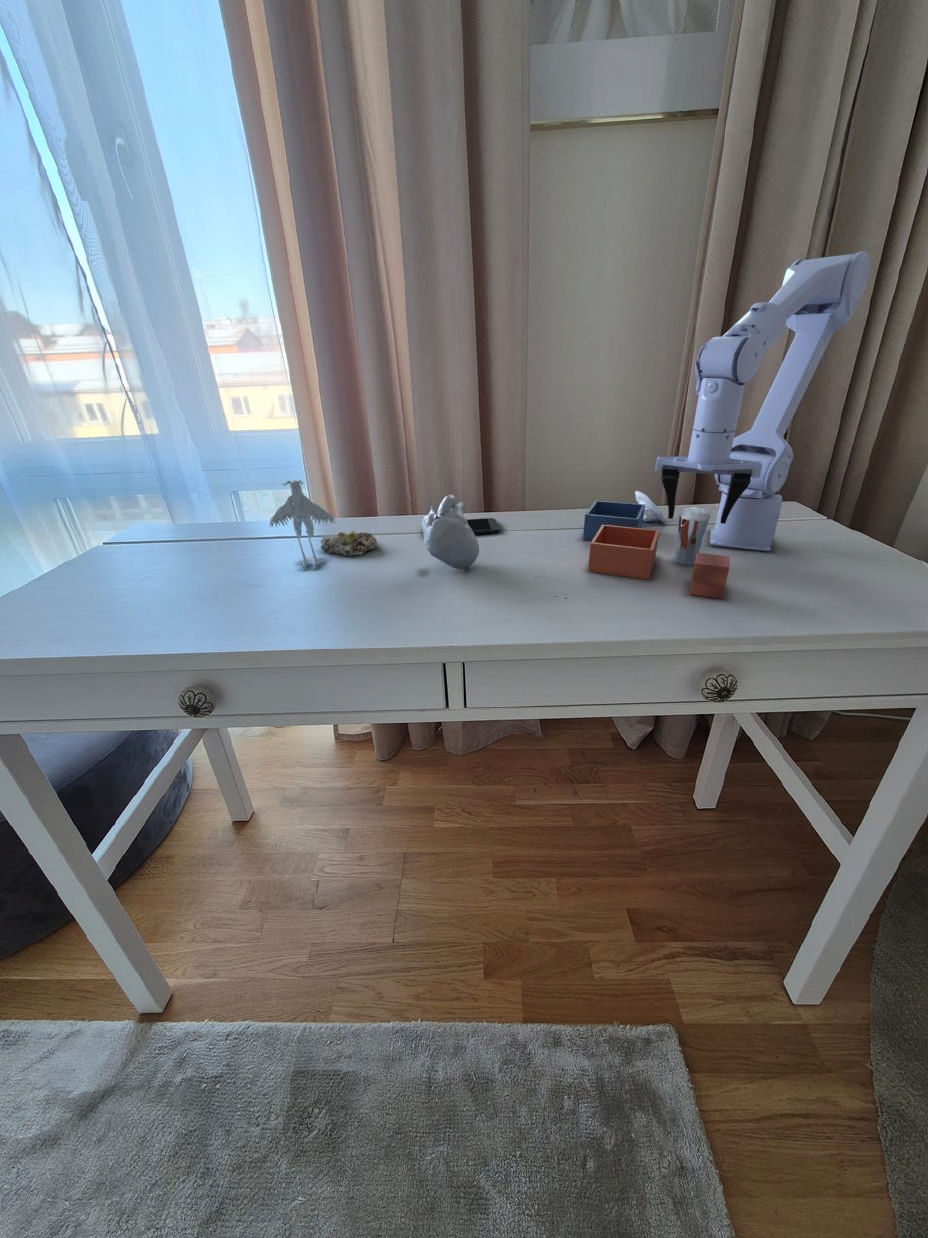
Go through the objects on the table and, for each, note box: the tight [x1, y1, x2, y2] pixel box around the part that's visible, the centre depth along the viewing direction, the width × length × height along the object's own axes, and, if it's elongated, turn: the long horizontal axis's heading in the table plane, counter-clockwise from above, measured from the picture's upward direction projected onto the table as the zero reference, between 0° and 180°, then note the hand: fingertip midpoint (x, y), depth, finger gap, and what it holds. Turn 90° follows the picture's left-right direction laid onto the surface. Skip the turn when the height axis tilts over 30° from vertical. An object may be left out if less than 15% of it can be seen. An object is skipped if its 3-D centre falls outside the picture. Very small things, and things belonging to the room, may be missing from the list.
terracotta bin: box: [587, 525, 661, 580], centre depth 83 cm, size 10×10×5 cm
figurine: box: [269, 479, 337, 571], centre depth 86 cm, size 11×4×15 cm, turn 95°
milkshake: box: [675, 503, 719, 566], centre depth 82 cm, size 5×5×10 cm
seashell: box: [634, 490, 666, 523], centre depth 102 cm, size 8×5×8 cm
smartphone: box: [466, 517, 501, 535], centre depth 102 cm, size 7×15×1 cm, turn 95°
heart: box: [421, 493, 480, 570], centre depth 84 cm, size 10×10×12 cm
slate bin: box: [582, 500, 645, 542], centre depth 96 cm, size 10×10×5 cm
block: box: [688, 552, 730, 600], centre depth 74 cm, size 4×4×5 cm
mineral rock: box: [320, 530, 378, 557], centre depth 95 cm, size 11×4×8 cm
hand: (696, 519), depth 81 cm, fingers open, 7 cm apart
